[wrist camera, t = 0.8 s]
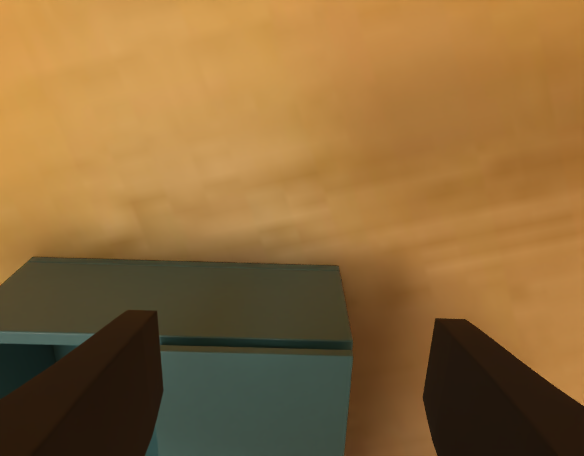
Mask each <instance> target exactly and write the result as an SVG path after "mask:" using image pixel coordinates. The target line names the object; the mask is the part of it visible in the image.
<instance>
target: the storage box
mask: <svg viewBox="0 0 584 456" xmlns="http://www.w3.org/2000/svg"><path fill="white" fill-rule="evenodd" d="M127 310H153V311H157V315H158V327H159V339H160V352H161V364H162V376H163V388H164V392H163V396H162V400H161V404H160V408H159V412H158V417H157V420H156V424H155V428H154V432H153V436H152V438H151V441H150V444H149V446H148V449H147V452H146V454H145V456H344V452H345V441H346V430H347V419H348V408H349V398H350V387H351V376H352V365H353V352H352V347H353V338H352V333H351V328H350V323H349V317H348V312H347V307H346V302H345V296H344V291H343V286H342V280H341V275H340V270H339V266H331V265H296V264H261V263H226V262H191V261H156V260H121V259H86V258H51V257H32V258H31V259H30V260H29V261H28V262H26V263H25V264H24V265H23V266H22V267H21V268H20V269H18V270H17V271H16V272H15V273H14V274H13V275H12V276H11V277H9V278H8V279H7V280H6V281H5V282H4V283H3V284H1V285H0V399H2V398H3V397H5V396H7V395H8V394H10V393H11V392H13V391H14V390H16V389H17V388H19V387H20V386H22V385H23V384H25V383H26V382H28V381H29V380H31V379H32V378H34V377H35V376H37V375H38V374H40V373H41V372H43V371H44V370H46V369H47V368H49V367H50V366H52V365H53V364H54V363H56V362H57V361H59V360H60V359H61V358H63V357H64V356H65V355H67V354H68V353H70V352H71V351H72V350H74V349H75V348H76V347H78V346H79V345H80V344H82V343H83V342H85V341H86V340H87V339H89V338H90V337H91V336H93V335H94V334H95V333H96V332H98V331H99V330H100V329H102V328H103V327H104V326H106V325H107V324H108V323H110V322H111V321H112V320H114V319H115V318H116V317H118V316H119V315H121V314H122V313H124V312H125V311H127Z"/></svg>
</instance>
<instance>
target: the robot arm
mask: <svg viewBox="0 0 584 456" xmlns="http://www.w3.org/2000/svg"><path fill="white" fill-rule="evenodd" d="M163 392H164V388H163V376H162V364H161V352H160V339H159V327H158V315H157V311H153V310H127V311H125V312H124V313H122V314H121V315H119V316H118V317H116V318H115V319H114V320H112V321H111V322H110V323H108V324H107V325H106V326H104V327H103V328H102V329H100V330H99V331H98V332H96V333H95V334H94V335H93V336H91V337H90V338H89V339H87V340H86V341H85V342H83V343H82V344H80V345H79V346H78V347H76V348H75V349H74V350H72V351H71V352H70V353H68V354H67V355H65V356H64V357H63V358H61V359H60V360H59V361H57V362H56V363H54V364H53V365H52V366H50V367H49V368H47V369H46V370H44V371H43V372H41V373H40V374H38V375H37V376H35V377H34V378H32V379H31V380H29V381H28V382H26V383H25V384H23V385H22V386H20V387H19V388H17V389H16V390H14V391H13V392H11V393H10V394H8V395H7V396H5V397H3V398H2V399H0V456H145V454H146V452H147V449H148V446H149V444H150V441H151V438H152V436H153V432H154V428H155V424H156V420H157V417H158V412H159V408H160V404H161V400H162V396H163ZM423 401H424V406H425V410H426V415H427V420H428V424H429V428H430V432H431V436H432V441H433V444H434V447H435V450H436V453H437V456H584V406H583V405H581V404H580V403H578V402H577V401H575V400H574V399H572V398H571V397H569V396H568V395H566V394H565V393H563V392H562V391H561V390H559V389H558V388H557V387H555V386H554V385H552V384H551V383H550V382H548V381H547V380H545V379H544V378H543V377H541V376H540V375H539V374H537V373H536V372H535V371H533V370H532V369H531V368H529V367H528V366H527V365H525V364H524V363H523V362H521V361H520V360H519V359H517V358H516V357H515V356H514V355H512V354H511V353H510V352H508V351H507V350H506V349H504V348H503V347H502V346H501V345H499V344H498V343H497V342H495V341H494V340H493V339H492V338H490V337H489V336H488V335H486V334H485V333H484V332H482V331H481V330H480V329H478V328H477V327H476V326H474V325H473V324H472V323H470V322H469V321H467V320H465V319H442V318H436V319H435V325H434V331H433V337H432V343H431V350H430V356H429V362H428V368H427V374H426V380H425V387H424V393H423Z"/></svg>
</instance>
